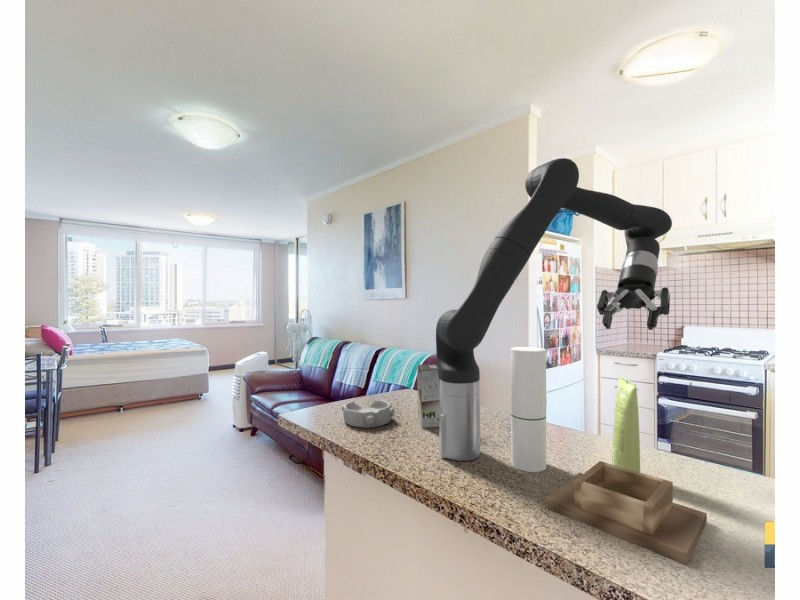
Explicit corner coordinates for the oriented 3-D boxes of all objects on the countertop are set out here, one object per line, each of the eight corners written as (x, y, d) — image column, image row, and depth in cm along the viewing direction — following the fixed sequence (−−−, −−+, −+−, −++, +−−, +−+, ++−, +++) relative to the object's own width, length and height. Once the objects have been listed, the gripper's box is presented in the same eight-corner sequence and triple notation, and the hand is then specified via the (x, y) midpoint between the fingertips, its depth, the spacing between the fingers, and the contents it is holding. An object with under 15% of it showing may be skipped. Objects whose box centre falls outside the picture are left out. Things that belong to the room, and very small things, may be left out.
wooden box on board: (545, 507, 68) (545, 475, 68) (579, 480, 77) (579, 452, 77) (686, 564, 53) (686, 524, 53) (706, 522, 63) (706, 488, 63)
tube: (648, 477, 78) (648, 380, 78) (635, 485, 75) (635, 383, 75) (619, 467, 83) (619, 375, 82) (606, 473, 80) (606, 378, 80)
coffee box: (444, 427, 109) (443, 369, 109) (421, 428, 108) (420, 370, 108) (438, 416, 118) (437, 363, 118) (417, 417, 118) (416, 364, 117)
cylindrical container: (545, 460, 87) (545, 347, 86) (546, 474, 80) (546, 352, 80) (512, 456, 89) (511, 346, 89) (510, 469, 82) (509, 350, 82)
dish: (336, 419, 117) (336, 403, 117) (376, 411, 125) (376, 396, 125) (358, 434, 105) (358, 415, 105) (401, 424, 112) (401, 406, 112)
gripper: (602, 265, 98) (589, 317, 91) (670, 260, 88) (662, 317, 81) (610, 285, 102) (598, 336, 95) (676, 282, 92) (668, 338, 85)
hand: (627, 327), depth 88 cm, fingers open, 8 cm apart
